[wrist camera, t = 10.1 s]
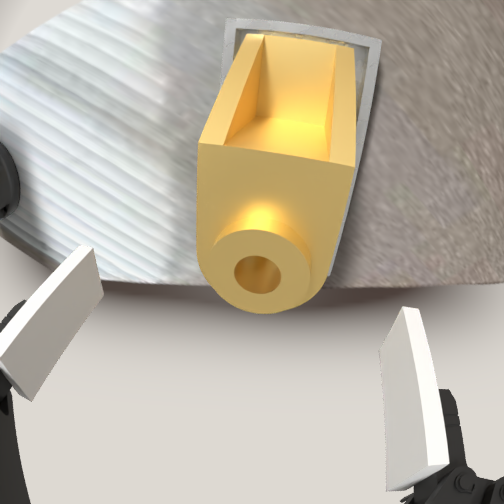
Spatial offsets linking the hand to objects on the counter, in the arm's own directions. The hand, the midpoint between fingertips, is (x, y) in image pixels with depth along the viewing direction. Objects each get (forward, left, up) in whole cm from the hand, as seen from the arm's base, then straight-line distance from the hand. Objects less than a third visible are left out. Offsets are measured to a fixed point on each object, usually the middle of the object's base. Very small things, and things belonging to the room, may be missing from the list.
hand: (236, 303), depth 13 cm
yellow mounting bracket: (0, +1, -23) cm, 23 cm away
